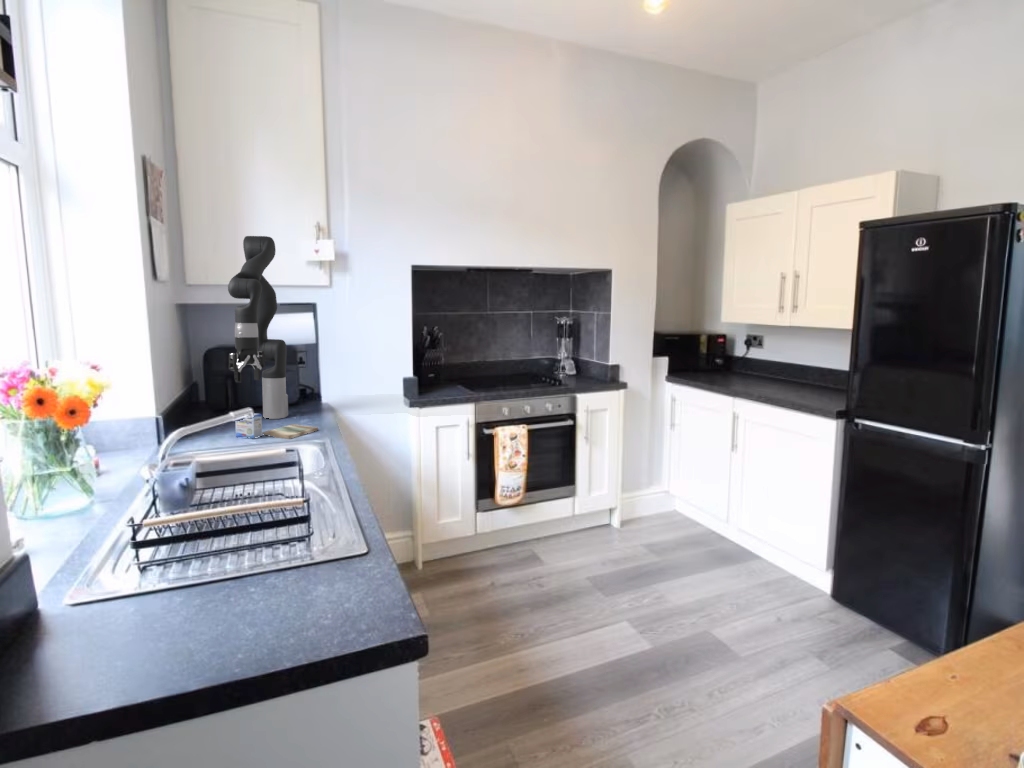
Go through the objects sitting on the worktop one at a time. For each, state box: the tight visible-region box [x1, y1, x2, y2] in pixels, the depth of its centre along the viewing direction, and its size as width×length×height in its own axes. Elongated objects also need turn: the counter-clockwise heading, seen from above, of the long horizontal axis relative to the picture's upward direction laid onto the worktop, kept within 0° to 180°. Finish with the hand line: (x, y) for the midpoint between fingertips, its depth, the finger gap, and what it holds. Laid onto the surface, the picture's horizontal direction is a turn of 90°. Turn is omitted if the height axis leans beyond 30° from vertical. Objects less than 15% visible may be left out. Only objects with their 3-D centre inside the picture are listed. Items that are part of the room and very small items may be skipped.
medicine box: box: [235, 412, 263, 438], centre depth 201 cm, size 8×4×9 cm, turn 76°
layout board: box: [262, 423, 319, 440], centre depth 209 cm, size 16×12×1 cm
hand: (247, 381), depth 198 cm, fingers open, 8 cm apart
